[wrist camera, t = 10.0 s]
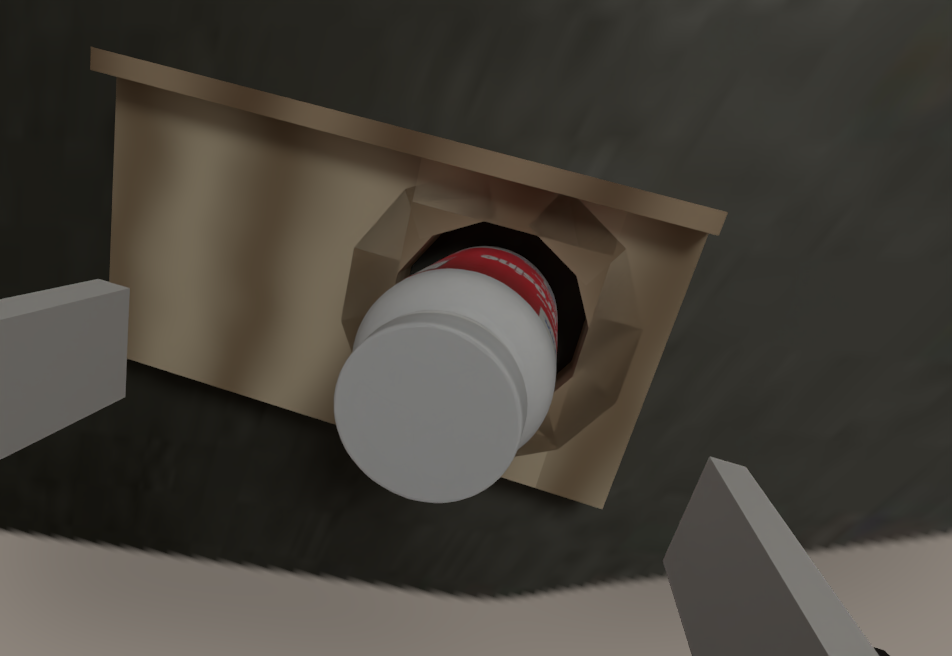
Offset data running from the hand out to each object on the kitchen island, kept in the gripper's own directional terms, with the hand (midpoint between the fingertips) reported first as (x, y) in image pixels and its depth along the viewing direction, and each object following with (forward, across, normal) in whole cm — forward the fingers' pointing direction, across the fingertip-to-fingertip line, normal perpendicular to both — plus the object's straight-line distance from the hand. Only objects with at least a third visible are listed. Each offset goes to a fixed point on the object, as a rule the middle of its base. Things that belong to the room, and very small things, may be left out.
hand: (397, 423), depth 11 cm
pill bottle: (+12, +1, 0) cm, 12 cm away
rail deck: (+12, -4, 0) cm, 13 cm away
